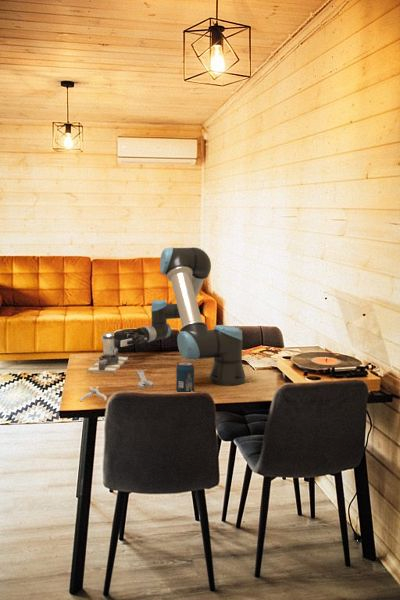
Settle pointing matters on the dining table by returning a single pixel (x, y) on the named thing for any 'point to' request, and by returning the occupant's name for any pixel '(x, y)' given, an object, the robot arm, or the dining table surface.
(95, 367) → the coupling base
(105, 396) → the pliers
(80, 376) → the dining table surface
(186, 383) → the soda can
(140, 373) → the adjustable wrench
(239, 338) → the robot arm
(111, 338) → the coupler
